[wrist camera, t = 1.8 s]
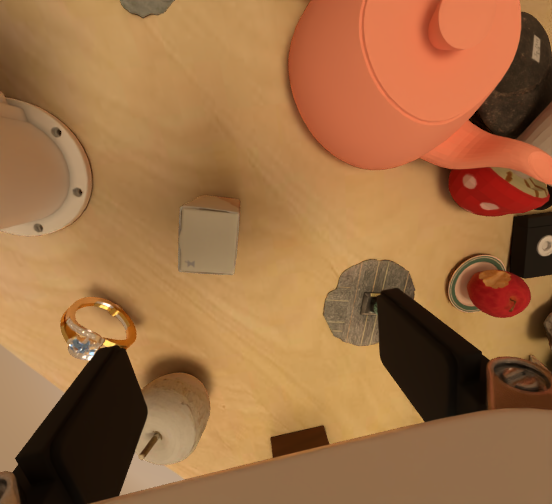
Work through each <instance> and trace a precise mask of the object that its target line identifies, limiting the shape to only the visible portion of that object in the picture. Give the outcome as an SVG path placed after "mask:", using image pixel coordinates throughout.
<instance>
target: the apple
mask: <svg viewBox="0 0 552 504" xmlns="http://www.w3.org/2000/svg"><path fill="white" fill-rule="evenodd" d="M448 296H449V299H450V301H451V303H452V304H453V306H454V307H455V308H457V309H458V310H460V311H463V312H468V313H473V312H478V311H482V312H484V313H486V314H489V315H491V316H493V317H500V318H506V317H512V316H514V315H517V314H518V313H520V312H522V311H523V310H524V309H525V308H526V307H527V306H528V304H529V302H530V300H531V294H530V290H529V287H528V286H527V284H526V283H525V282H524V280H523V279H521V278H520V277H519V276H517V275H515V274H513V273H510V272H508V271H506V268H505V266H504V264H503V263H502V262H501V261H500V260H499V259H498V258H496V257H494V256H491V255H478V256H475V257H472V258H470V259H468V260H466V261H465V262H463V263H462V264H461V265H460V266H459V267H458V268H457V269H456V270H455V272H454V273H453V275H452V277H451V279H450V282H449V286H448Z"/></svg>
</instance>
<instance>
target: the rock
mask: <svg viewBox="0 0 552 504" xmlns="http://www.w3.org/2000/svg"><path fill="white" fill-rule="evenodd" d="M543 325H544V328H545V329H546V334H547V337H548V340H549V345H550V349H551V351H552V313H550V314H549V315H548V317H547V318H546V319H545V321H544V322H543Z"/></svg>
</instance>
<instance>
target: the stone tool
mask: <svg viewBox="0 0 552 504" xmlns="http://www.w3.org/2000/svg"><path fill="white" fill-rule="evenodd" d="M173 1H175V0H120V2H121V4H122V6H123V7H124V8H125V9H127V10H128V11H129V12H130V13H134V14H137V15H139V16H141V17H142V18H144V17H145V16H147V15H149V14H155V15H158V14H161V13H164V12H165V11H166V10H167V9H168V7H169V6H170V5H171V4H172V2H173Z"/></svg>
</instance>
